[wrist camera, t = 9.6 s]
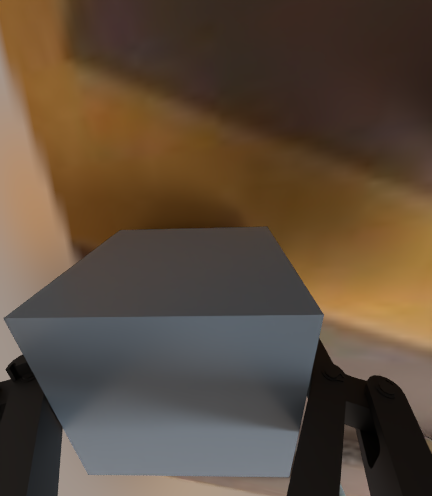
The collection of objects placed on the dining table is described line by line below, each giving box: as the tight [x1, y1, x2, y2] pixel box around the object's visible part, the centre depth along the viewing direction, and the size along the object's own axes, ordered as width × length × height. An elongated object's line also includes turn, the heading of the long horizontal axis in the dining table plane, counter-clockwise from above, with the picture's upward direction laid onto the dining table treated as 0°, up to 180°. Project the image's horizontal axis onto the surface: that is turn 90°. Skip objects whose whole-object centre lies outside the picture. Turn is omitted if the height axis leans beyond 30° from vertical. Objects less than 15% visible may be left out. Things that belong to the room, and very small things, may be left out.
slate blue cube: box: [4, 227, 324, 477], centre depth 13 cm, size 10×10×9 cm
